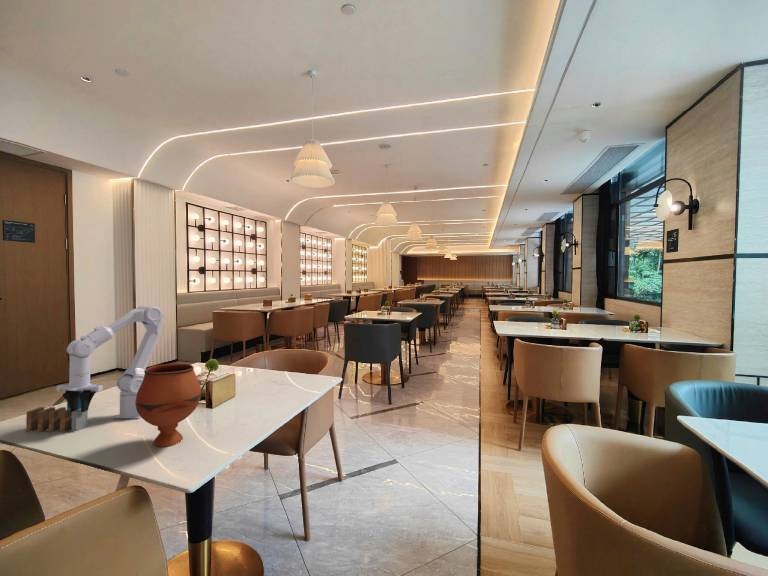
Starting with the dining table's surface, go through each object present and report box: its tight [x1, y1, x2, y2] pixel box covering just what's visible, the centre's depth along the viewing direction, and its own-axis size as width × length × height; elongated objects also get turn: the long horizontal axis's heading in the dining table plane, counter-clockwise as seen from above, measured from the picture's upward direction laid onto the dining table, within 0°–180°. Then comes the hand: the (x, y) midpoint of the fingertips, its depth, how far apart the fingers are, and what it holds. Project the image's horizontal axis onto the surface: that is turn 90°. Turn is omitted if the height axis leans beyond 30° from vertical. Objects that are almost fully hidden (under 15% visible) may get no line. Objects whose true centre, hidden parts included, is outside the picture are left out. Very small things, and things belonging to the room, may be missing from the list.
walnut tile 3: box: [48, 406, 67, 433], centre depth 128 cm, size 2×5×7 cm, turn 2°
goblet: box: [135, 363, 202, 448], centre depth 120 cm, size 19×19×25 cm
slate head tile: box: [71, 408, 89, 433], centre depth 129 cm, size 2×5×7 cm, turn 2°
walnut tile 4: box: [37, 406, 56, 433], centre depth 128 cm, size 2×5×7 cm, turn 2°
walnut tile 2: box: [59, 408, 72, 433], centre depth 128 cm, size 2×5×7 cm, turn 2°
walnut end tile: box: [25, 406, 45, 433], centre depth 128 cm, size 2×5×7 cm, turn 2°
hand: (79, 411), depth 129 cm, fingers open, 3 cm apart
